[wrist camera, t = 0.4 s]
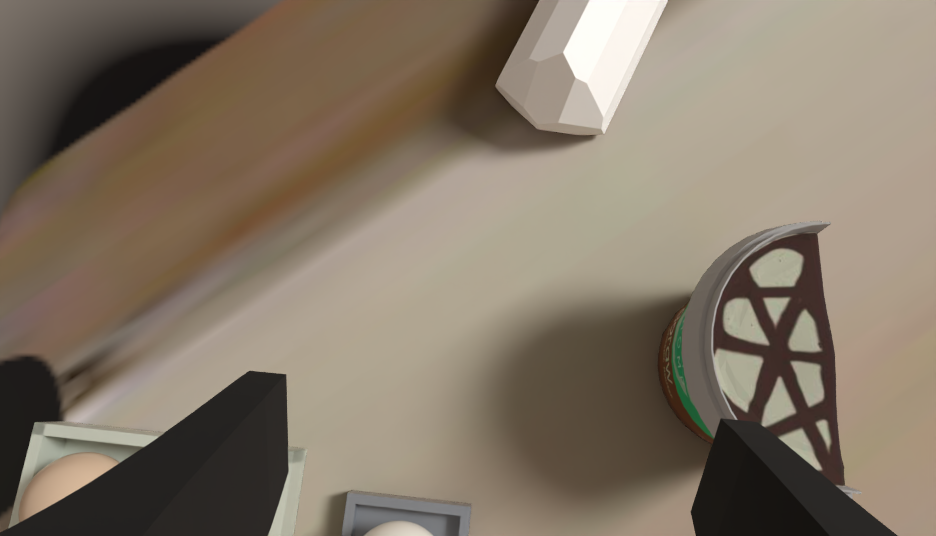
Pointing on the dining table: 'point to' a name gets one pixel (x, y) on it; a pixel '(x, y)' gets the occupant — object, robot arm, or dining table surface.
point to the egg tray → (122, 443)
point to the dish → (404, 513)
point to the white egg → (398, 529)
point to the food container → (759, 347)
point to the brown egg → (62, 480)
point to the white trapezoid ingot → (577, 61)
